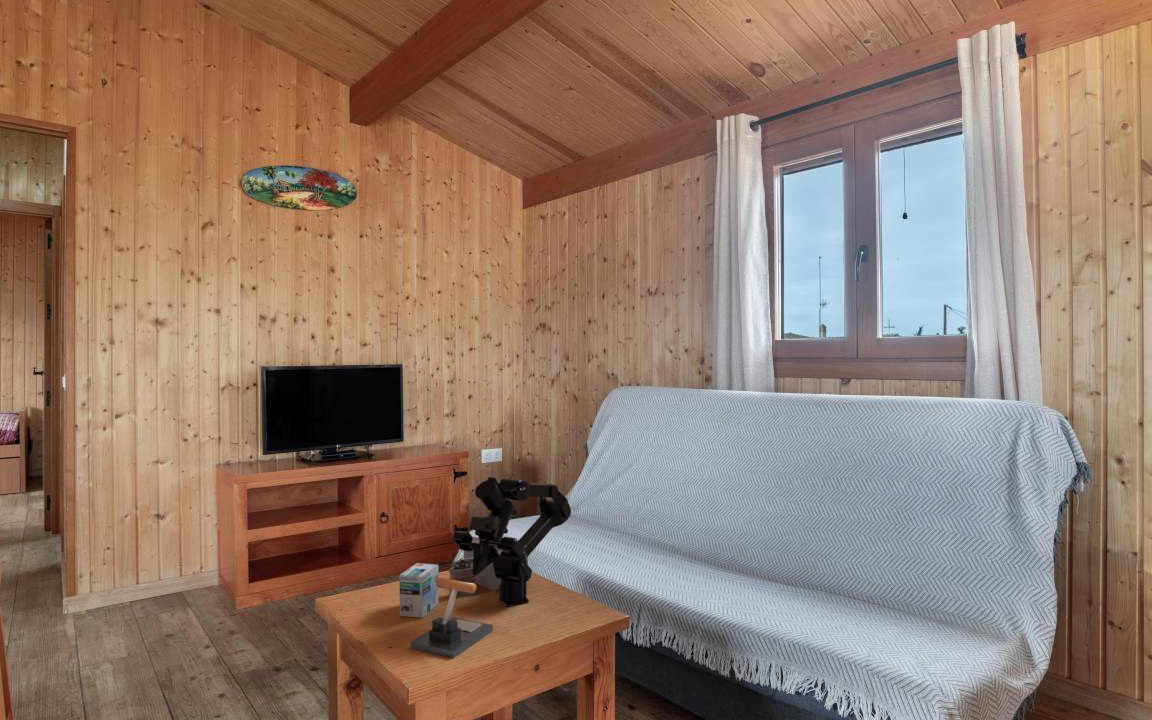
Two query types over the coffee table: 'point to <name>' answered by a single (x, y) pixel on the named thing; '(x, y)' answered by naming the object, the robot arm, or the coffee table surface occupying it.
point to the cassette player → (485, 575)
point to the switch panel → (455, 645)
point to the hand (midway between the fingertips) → (474, 574)
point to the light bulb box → (419, 590)
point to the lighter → (463, 574)
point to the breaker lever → (454, 592)
